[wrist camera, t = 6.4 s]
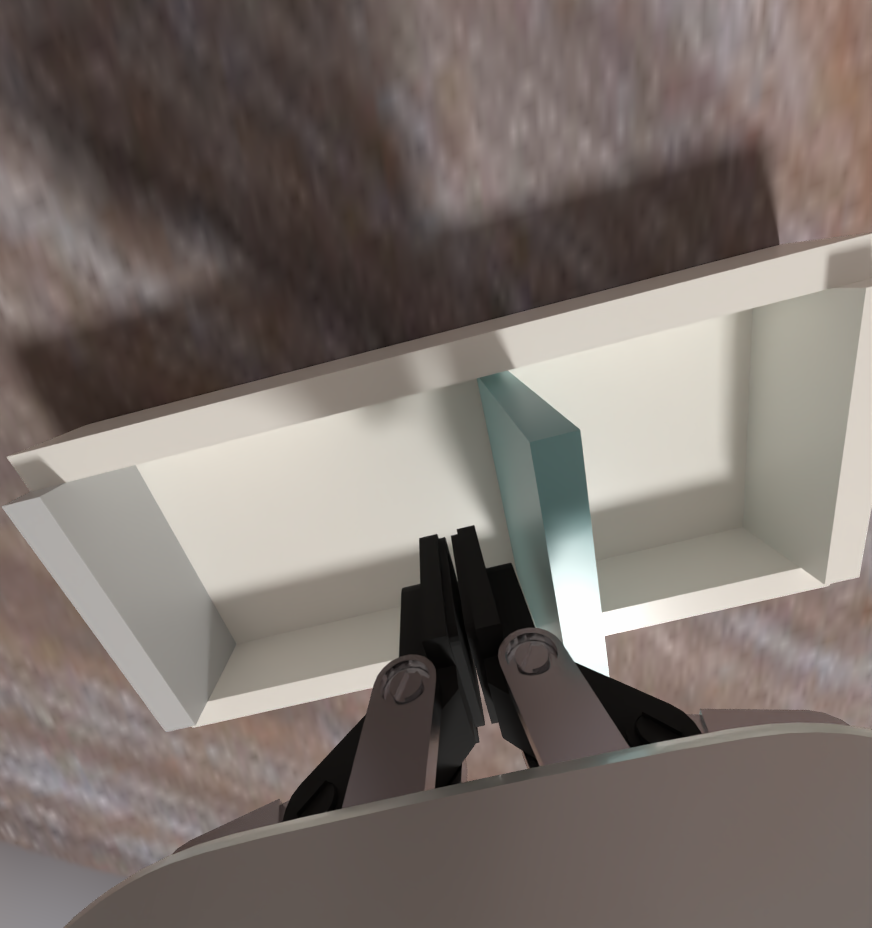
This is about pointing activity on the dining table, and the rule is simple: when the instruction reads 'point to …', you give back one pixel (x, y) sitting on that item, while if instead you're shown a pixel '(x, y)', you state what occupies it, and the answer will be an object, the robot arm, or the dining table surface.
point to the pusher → (547, 514)
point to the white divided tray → (469, 479)
